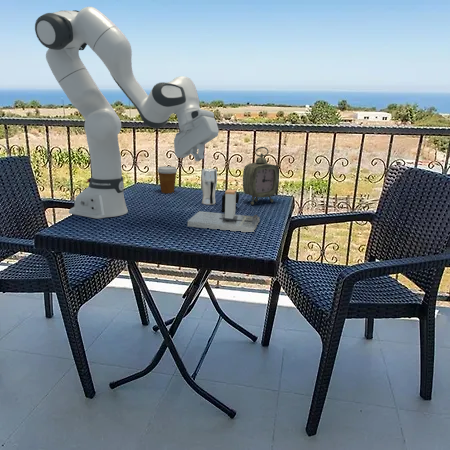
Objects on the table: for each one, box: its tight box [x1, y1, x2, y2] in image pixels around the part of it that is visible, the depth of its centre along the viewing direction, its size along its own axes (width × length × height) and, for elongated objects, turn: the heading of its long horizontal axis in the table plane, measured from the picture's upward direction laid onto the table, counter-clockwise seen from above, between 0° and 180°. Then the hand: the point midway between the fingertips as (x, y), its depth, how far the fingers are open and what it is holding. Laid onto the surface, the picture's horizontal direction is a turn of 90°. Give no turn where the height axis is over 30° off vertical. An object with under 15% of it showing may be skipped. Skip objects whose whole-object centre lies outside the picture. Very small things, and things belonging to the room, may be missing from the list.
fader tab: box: [222, 188, 238, 220], centre depth 141 cm, size 5×4×10 cm
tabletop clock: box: [242, 146, 280, 206], centre depth 173 cm, size 14×9×25 cm, turn 120°
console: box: [187, 210, 260, 233], centre depth 143 cm, size 24×14×4 cm, turn 76°
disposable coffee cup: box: [156, 165, 178, 194], centre depth 189 cm, size 10×10×12 cm
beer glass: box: [200, 168, 218, 206], centre depth 170 cm, size 7×7×15 cm
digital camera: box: [221, 192, 240, 213], centre depth 163 cm, size 10×5×7 cm, turn 169°
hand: (199, 159), depth 132 cm, fingers closed
